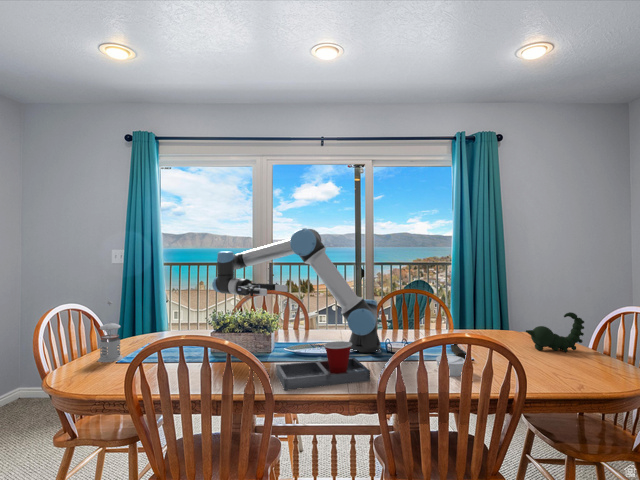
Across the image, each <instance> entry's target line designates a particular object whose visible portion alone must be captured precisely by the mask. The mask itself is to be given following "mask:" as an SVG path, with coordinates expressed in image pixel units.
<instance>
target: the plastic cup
mask: <svg viewBox="0 0 640 480" xmlns="http://www.w3.org/2000/svg"><path fill="white" fill-rule="evenodd" d="M351 346H352V343H351V342H349V341H345V340H343V341H341V340H340V341H339V340H338V341H331V342H330V341H329V342H326V343H324V344H323V347H324V349H325V352H326V358H327V360H328V363H329V368H330V373H331V374H332V373H342V372H347V366H348V361H349V358H350V355H351V350H350V349H351Z"/></svg>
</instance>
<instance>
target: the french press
mask: <svg viewBox="0 0 640 480" xmlns="http://www.w3.org/2000/svg"><path fill="white" fill-rule="evenodd" d="M106 304H107V305H112V304H113V301H111V300H110V301H107V303H106ZM120 328H121V325H120V324H117V323H114V322H108V323H105V324H103V325H101V326H100V327H99V330H101V331H104V332H103V335H102V336H101V337H100V338H101V340H99V347H100V348H99V355H100V357H99V358H98V359H97V362H99V363H113V362H116V361H120V360H122V359H123V358H124V357H123V355H121V338H119V337H120V335H119V334H117V333H116V334H115V333H113V334H111V333H110V332H111V331H113V330H118V329H120ZM106 332H107V334H106ZM105 334H106V335H105Z"/></svg>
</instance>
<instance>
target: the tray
mask: <svg viewBox="0 0 640 480" xmlns="http://www.w3.org/2000/svg"><path fill="white" fill-rule="evenodd" d="M275 366H276V368H275V369H276V370H275V372H276V376H277V378H278V380H279V382H281V383H280V384H282V385H281V387H282V386H283V387H282V389H283V388H284V389H283V390H284V391H289V390H288V389H293V390H298V389H297V388H302V389H311V388H318V387H320V386H321V387H329V386H336V385H337V386H339V385H346V384H355V383H356V384H357V383H364V382H365V383H366V382H367V383H368V382H371V370H370V369H368V367H366V366H365V365H364V364H362V363H361V361H359V360H358V359H357V358H356V357H349V361H348V366H347V372H342V373H332V374H331V373H330V368H329V363H328V359H326V360H325V359H324V360H316V361H314V360H313V361H302V362H301V361H300V362H293V363H292V362H291V363H290V362H289V363H281V364H280V363H279V364H276V365H275ZM321 387H320V388H321Z"/></svg>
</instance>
